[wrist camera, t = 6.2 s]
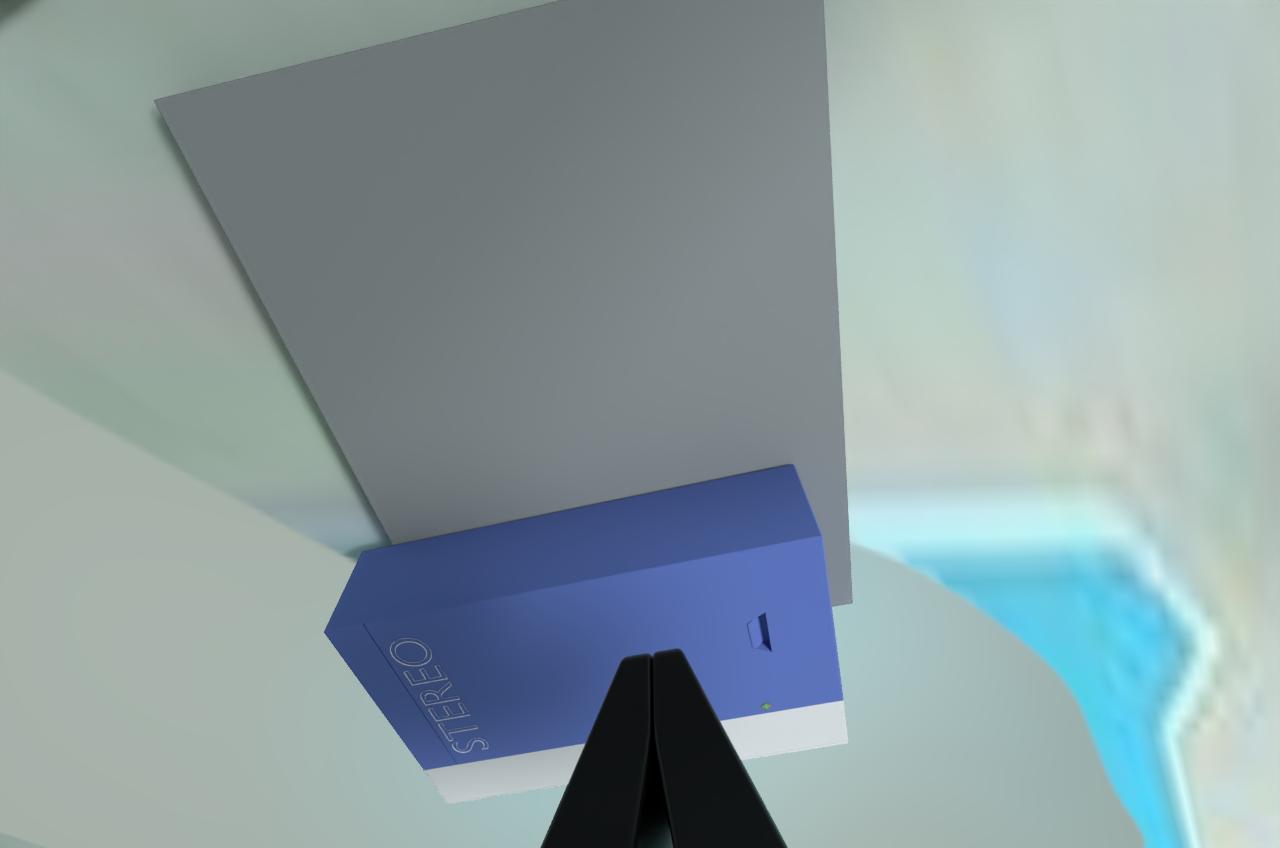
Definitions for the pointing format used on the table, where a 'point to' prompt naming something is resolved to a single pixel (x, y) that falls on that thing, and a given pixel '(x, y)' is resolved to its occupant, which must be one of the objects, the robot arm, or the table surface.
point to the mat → (550, 255)
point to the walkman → (597, 628)
